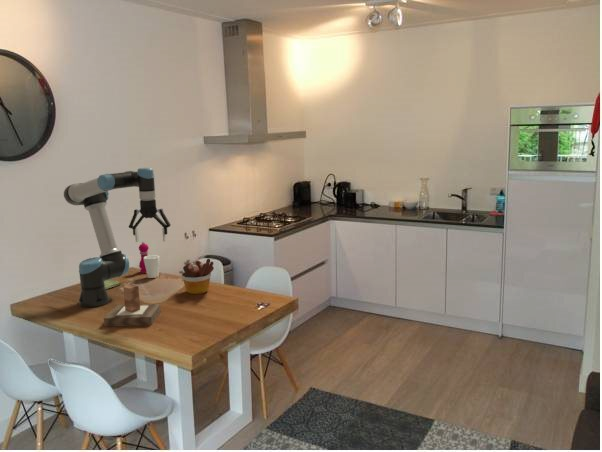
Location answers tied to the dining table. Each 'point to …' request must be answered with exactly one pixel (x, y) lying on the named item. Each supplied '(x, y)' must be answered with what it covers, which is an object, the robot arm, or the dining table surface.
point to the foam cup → (152, 265)
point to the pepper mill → (143, 252)
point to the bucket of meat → (197, 276)
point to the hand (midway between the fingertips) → (150, 241)
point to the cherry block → (131, 298)
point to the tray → (132, 315)
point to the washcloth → (111, 283)
